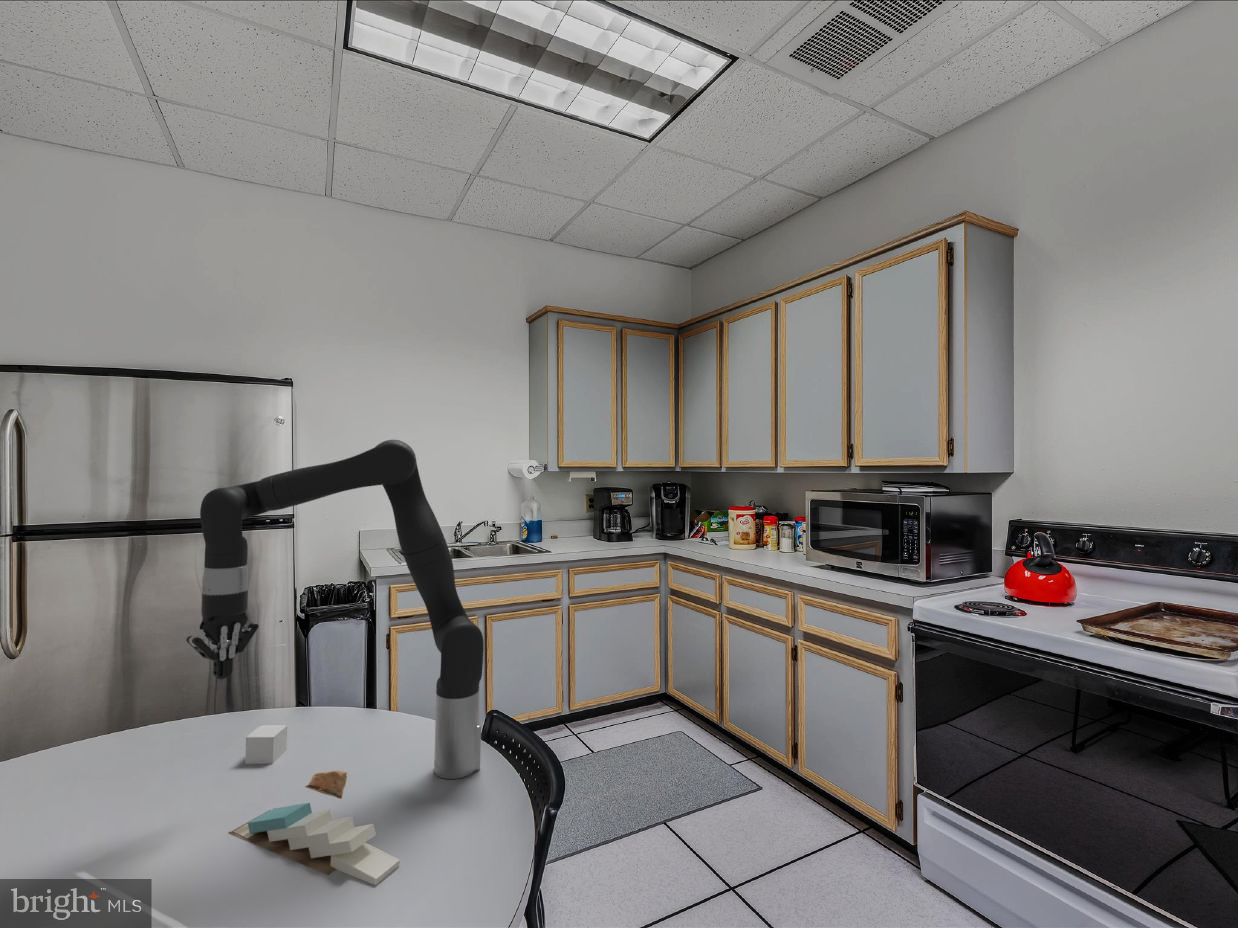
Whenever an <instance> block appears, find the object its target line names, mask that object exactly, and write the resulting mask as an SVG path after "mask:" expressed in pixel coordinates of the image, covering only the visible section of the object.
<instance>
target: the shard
mask: <svg viewBox="0 0 1238 928" xmlns="http://www.w3.org/2000/svg"><path fill="white" fill-rule="evenodd" d="M347 774H348V772H347V771H339V770H335V771H326V772H325V771H324V772H318V773H314V774H313V776H312V778H311V780H310V781H309V783H308V784H307V785H305V786H304V787H305V788H306V789H307V788H308V789H310V790H313V791H316V792H320V793H322V794H325V795H328V796H333V797H335V798H337V799H340V800H341V799H343V794H344V788H345V787H346V782H347V778H348V776H347Z"/></svg>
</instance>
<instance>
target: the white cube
mask: <svg viewBox="0 0 1238 928" xmlns="http://www.w3.org/2000/svg"><path fill="white" fill-rule="evenodd" d="M287 740H288V725H282V724H281V725H279V724H278V725H273V724H272V725H259V726H258V727H257V728H256V729H254V730H253V731H252V732H251V733H250V734H248V735H247V736H246V737H245V757H244V758H245V759H244V761H245V763H244V764H245V765H250V764H251V765H254V764H255V765H258V764H259V765H260V764H261V765H262V764H263V765H264V764H265V765H266V764H267V765H269V764H270V765H272V764H275V762H277V761H278V760H279V758H281V757H282V756H283V755H284V754H285V753H286V752H287V751H286V750H288V749H287V747H288V746H287V745H288V743H287V742H288V741H287ZM285 751H286V752H285ZM284 752H285V753H284ZM282 754H283V755H282Z"/></svg>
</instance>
